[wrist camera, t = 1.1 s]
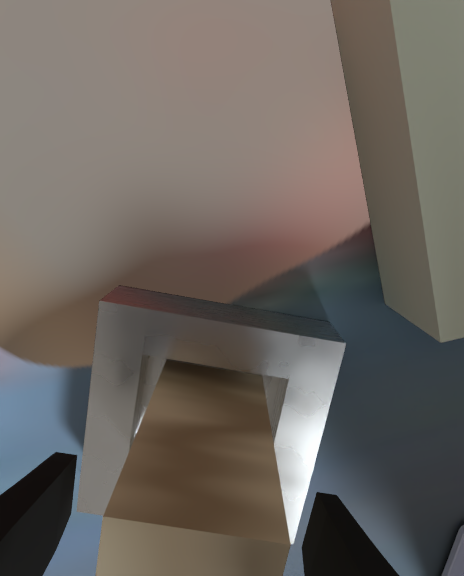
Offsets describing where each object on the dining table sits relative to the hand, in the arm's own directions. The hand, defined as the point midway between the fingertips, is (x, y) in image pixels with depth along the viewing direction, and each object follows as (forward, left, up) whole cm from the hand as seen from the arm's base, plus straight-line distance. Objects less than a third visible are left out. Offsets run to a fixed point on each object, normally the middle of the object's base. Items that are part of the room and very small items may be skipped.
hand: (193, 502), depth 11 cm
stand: (0, 0, -6) cm, 6 cm away
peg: (0, 0, -5) cm, 5 cm away
